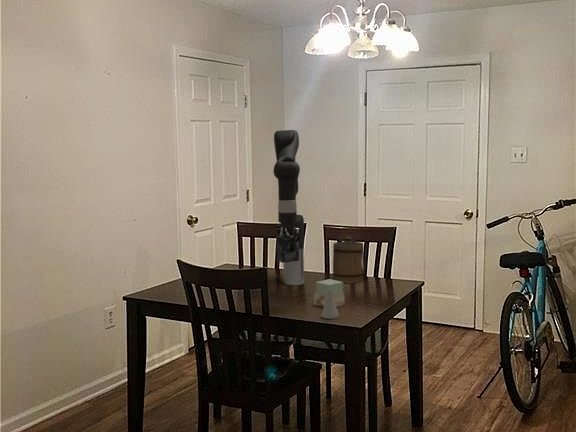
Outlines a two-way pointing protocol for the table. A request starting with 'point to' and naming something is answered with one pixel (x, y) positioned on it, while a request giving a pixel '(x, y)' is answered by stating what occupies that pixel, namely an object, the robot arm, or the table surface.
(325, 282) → the tower top
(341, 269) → the wooden container
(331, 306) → the flask
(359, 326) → the table surface
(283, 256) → the box
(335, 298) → the tower base
